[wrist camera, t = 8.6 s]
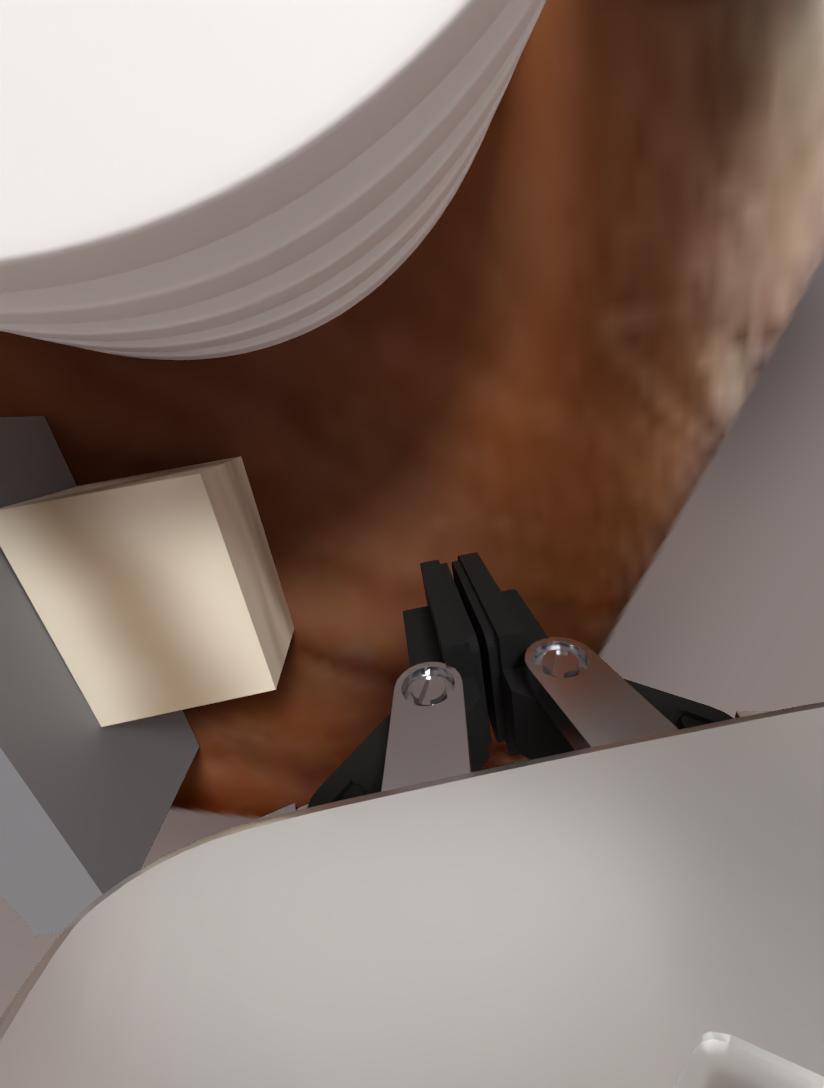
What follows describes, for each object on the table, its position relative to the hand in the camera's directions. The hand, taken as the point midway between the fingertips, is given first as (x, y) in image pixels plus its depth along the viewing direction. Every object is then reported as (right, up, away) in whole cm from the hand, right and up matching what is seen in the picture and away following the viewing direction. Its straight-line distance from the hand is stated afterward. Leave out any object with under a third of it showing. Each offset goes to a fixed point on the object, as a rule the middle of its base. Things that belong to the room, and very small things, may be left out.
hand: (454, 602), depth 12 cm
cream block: (-12, +1, +8) cm, 14 cm away
